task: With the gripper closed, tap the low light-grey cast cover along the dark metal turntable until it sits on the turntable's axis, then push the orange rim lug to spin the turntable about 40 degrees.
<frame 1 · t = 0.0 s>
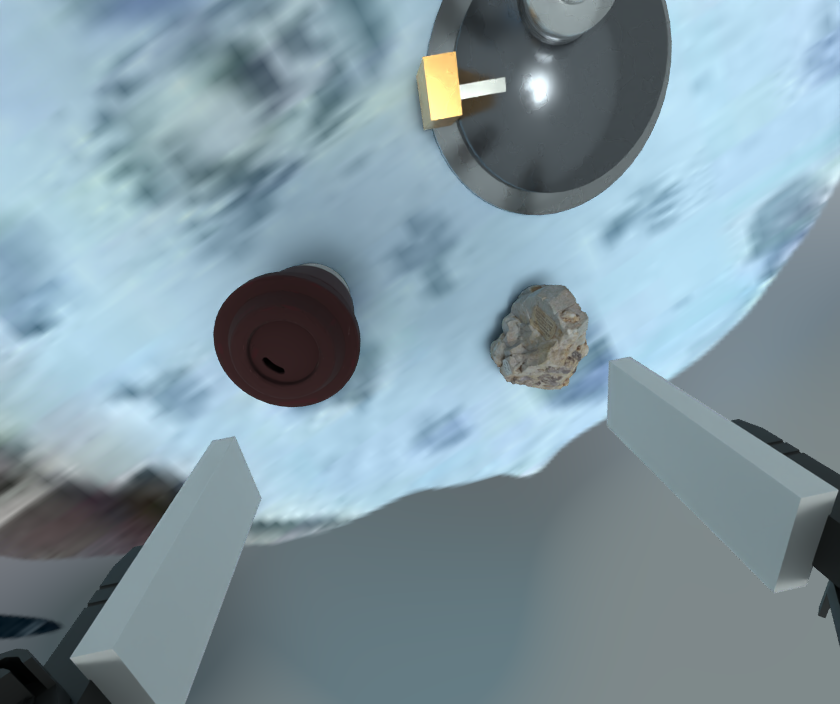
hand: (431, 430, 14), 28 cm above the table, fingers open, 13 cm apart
coffee cup: (315, 298, 40), on the table
rock: (519, 330, 44), on the table
turntable base: (547, 83, 34), on the table
turntable: (549, 75, 31), point 3 cm above the table, hinge at 0.0°, touching cover
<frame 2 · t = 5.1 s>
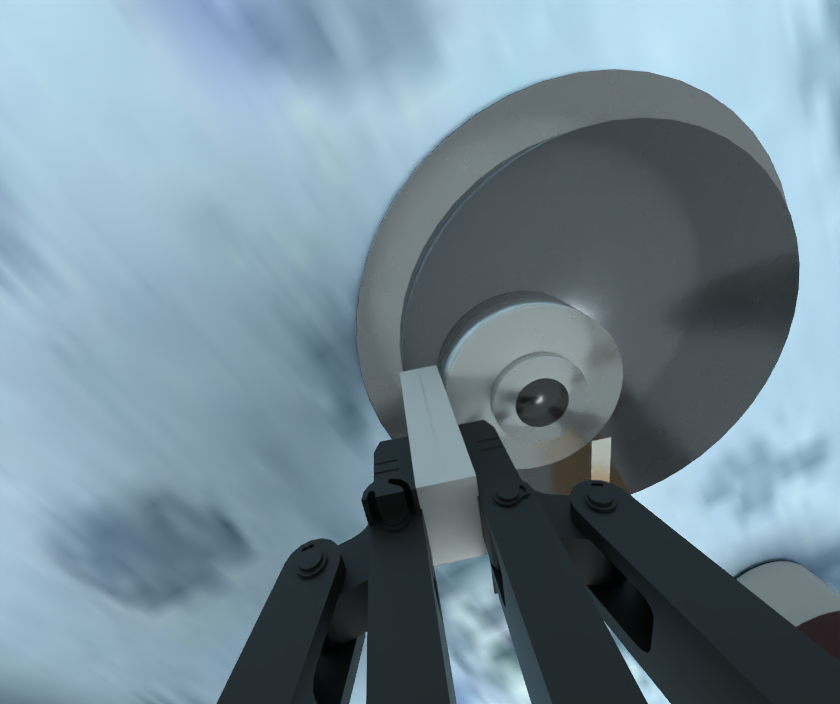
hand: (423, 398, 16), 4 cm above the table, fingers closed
coffee cup: (757, 589, 30), on the table
turntable base: (573, 329, 20), on the table
turntable: (609, 382, 17), point 3 cm above the table, hinge at 0.0°, touching cover
cover: (514, 368, 17), point 3 cm above the table, touching turntable
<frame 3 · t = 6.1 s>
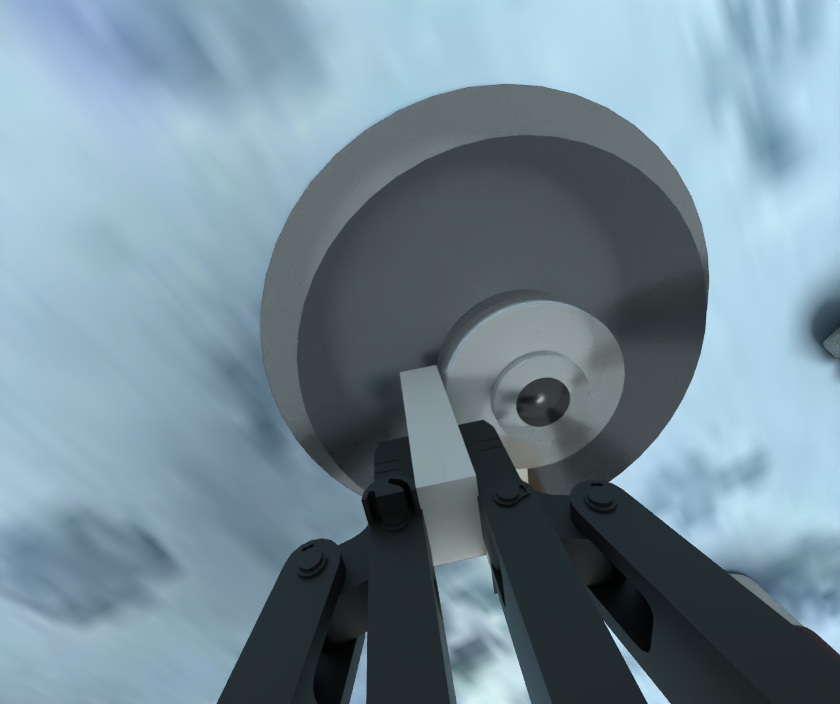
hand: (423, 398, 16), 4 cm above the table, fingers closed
coffee cup: (707, 600, 30), on the table
turntable base: (490, 344, 20), on the table
turntable: (514, 400, 17), point 3 cm above the table, hinge at 0.0°, touching cover
cover: (515, 368, 17), point 3 cm above the table, touching gripper, turntable
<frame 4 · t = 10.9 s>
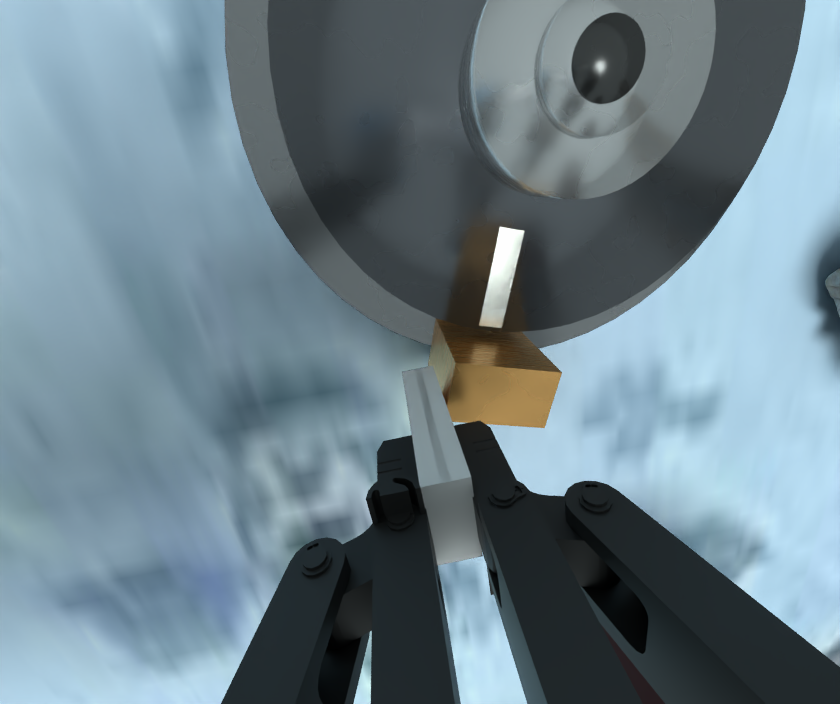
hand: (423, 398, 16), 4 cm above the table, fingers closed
coffee cup: (597, 558, 28), on the table
turntable base: (517, 99, 16), on the table
turntable: (540, 125, 13), point 3 cm above the table, hinge at 5.1°, touching cover, gripper
cover: (559, 86, 13), point 3 cm above the table, touching turntable
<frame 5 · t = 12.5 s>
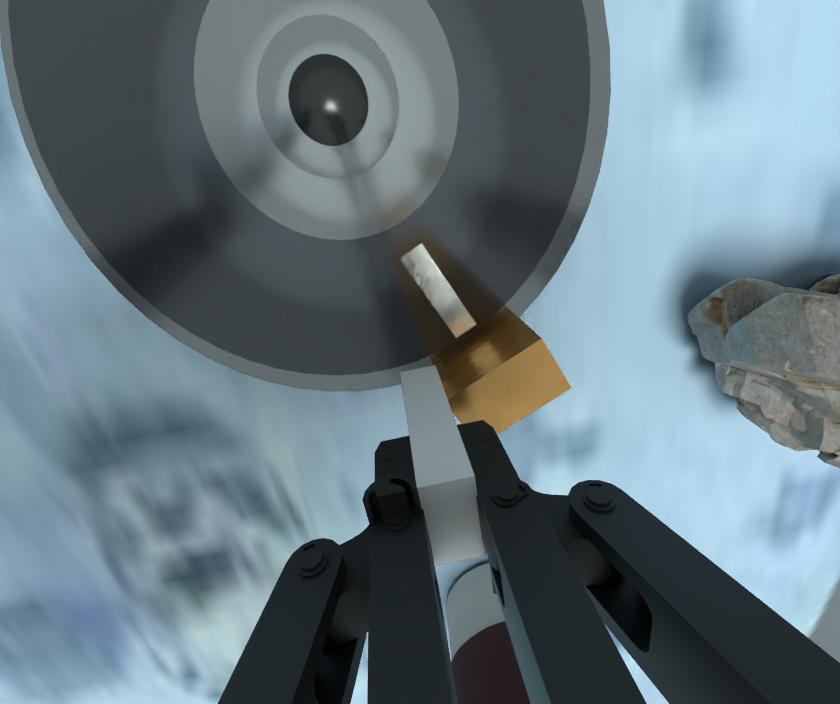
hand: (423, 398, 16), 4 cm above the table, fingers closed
coffee cup: (496, 590, 27), on the table
rock: (747, 336, 21), on the table
turntable base: (335, 140, 15), on the table
turntable: (351, 166, 13), point 3 cm above the table, hinge at 48.3°, touching cover, gripper
cover: (339, 121, 13), point 3 cm above the table, touching turntable
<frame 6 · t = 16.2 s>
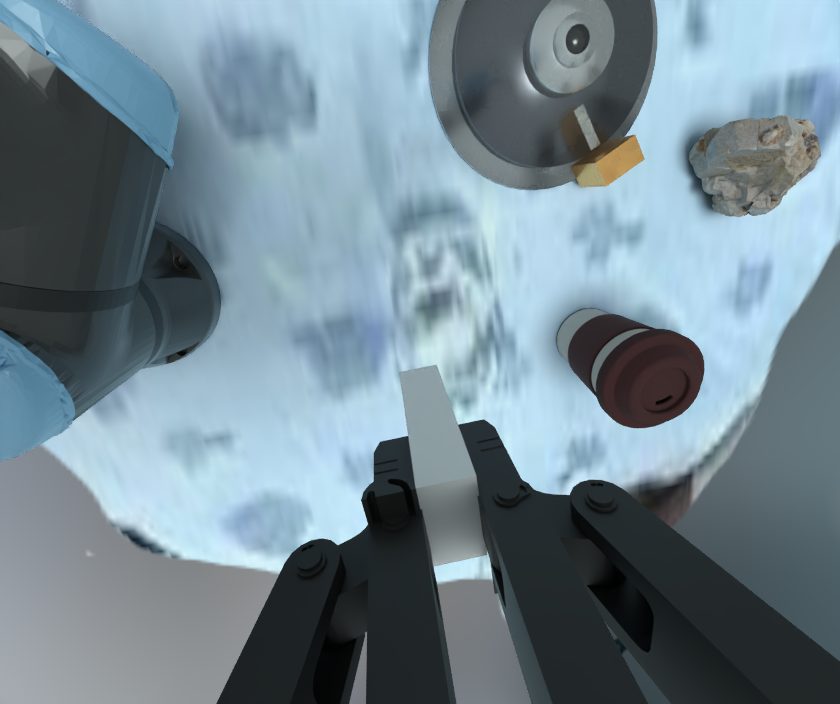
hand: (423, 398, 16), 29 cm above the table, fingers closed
coffee cup: (582, 334, 49), on the table
rock: (717, 173, 43), on the table
turntable base: (542, 65, 37), on the table
turntable: (564, 68, 34), point 3 cm above the table, hinge at 48.5°, touching cover
cover: (561, 51, 34), point 3 cm above the table, touching turntable
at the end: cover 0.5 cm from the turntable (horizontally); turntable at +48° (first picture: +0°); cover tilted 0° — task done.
